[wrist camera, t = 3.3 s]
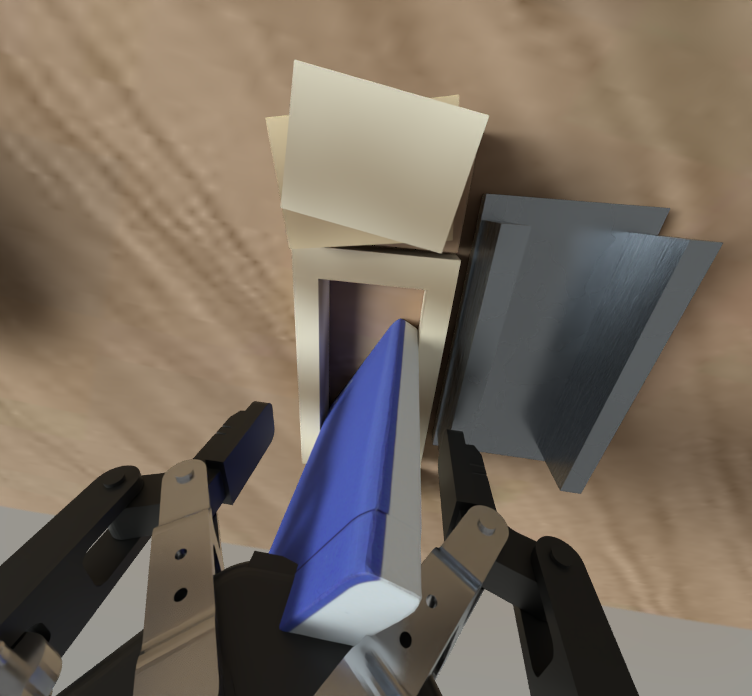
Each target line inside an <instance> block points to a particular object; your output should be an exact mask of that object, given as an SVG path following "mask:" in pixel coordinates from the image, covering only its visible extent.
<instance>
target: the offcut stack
mask: <svg viewBox="0 0 752 696" xmlns="http://www.w3.org/2000/svg"><path fill="white" fill-rule="evenodd" d="M488 118H489V115H486V114H482V113H479V112H475V111H472V110H468V109H465V108H461V107H459V95H452V96H444V97H435V98H427V97H423V96H420V95H416V94H413V93H409V92H406V91H402V90H399V89H395V88H392V87H388V86H385V85H381V84H378V83H374V82H371V81H367V80H364V79H360V78H357V77H353V76H350V75H346V74H343V73H339V72H336V71H332V70H329V69H325V68H322V67H319V66H315V65H312V64H308V63H305V62H301V61H298V60H294V69H293V80H292V90H291V101H290V112H289V115H285V116H276V117H268V118H266V124H267V129H268V135H269V140H270V146H271V151H272V157H273V162H274V168H275V174H276V179H277V185H278V190H279V196H280V201H281V208H282V212H283V218H284V223H285V229H286V234H287V240H288V245H289V249H301V248H320V247H338V246H357V245H381V246H391V247H402V248H412V249H423V250H430V251H434V252H437V253H441V254H442V251H444V252H454V253H458V248H459V243H460V238H461V233H462V227H463V222H464V217H465V212H466V206H467V201H468V196H469V191H470V186H471V180H472V175H473V170H474V165H475V159H476V154H477V149H478V147H479V144H480V141H481V138H482V135H483V132H484V129H485V126H486V123H487V120H488Z"/></svg>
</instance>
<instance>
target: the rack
mask: <svg viewBox="0 0 752 696" xmlns="http://www.w3.org/2000/svg"><path fill="white" fill-rule="evenodd" d="M460 263H461V260H460V259H459V258H458V256H457V255H456V254H451V253H442V254H441V253H437V252H430V251H420V250H410V249H399V248H389V247H378V246H368V245H357V246H338V247H320V248H301V249H292V269H293V289H294V309H295V329H296V349H297V370H298V390H299V410H300V430H301V451H302V463H304V464H306V463H307V461H308V459H309V456H310V454H311V451H312V449H313V447H314V444H315V442H316V439H317V437H318V435H319V432H320V430H321V428H322V425H323V423H324V421H325V418H326V416H327V413H328V411H329V293H330V280H336V281H345V282H354V283H364V284H373V285H383V286H392V287H402V288H411V289H421V290H424V297H423V303H422V310H421V317H420V323H419V330H418V360H419V417H420V465H421V460H422V455H423V450H424V445H425V440H426V435H427V430H428V425H429V420H430V415H431V410H432V405H433V400H434V394H435V389H436V384H437V379H438V374H439V369H440V364H441V359H442V354H443V349H444V344H445V339H446V334H447V329H448V324H449V319H450V314H451V309H452V304H453V299H454V294H455V289H456V283H457V278H458V273H459V268H460Z"/></svg>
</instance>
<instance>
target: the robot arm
mask: <svg viewBox="0 0 752 696" xmlns="http://www.w3.org/2000/svg"><path fill="white" fill-rule="evenodd" d="M273 436H274V419H273V409H272V405H271V404H270V403H264V402H257V401H254V402H253V403H252V404H251V405H250V406H249V407H248V408H247V410H246V411H239V412H238V413H236V414H234V415H233V416H231V417H230V418H229V419H228V420H227V421H226V422H225V423H224V424H223V427H221V428H220V429H219V430H218V431H217V433H216V434H215V435H214V436H213V437H212V438H211V439H210V440H209V441H208V442H207V444H206V445H205V446H204V447H203V448H202V449H201V450H200V451H199V453H198V454H197V455H196V456H195V457H194V458H193V459H190V460H185V461H182V462H180V463H177V464H176V465H174V466H173V467H171V468H170V469H169V470H168V471H167V472H166V473H160V474H151V475H142V476H141V473H140V471H139V469H138V468H137V467H135V466H121V467H117V468H114V469H111V470H109V471H107V472H105V473H104V474H102V475H101V476H99V477H98V478H97V479H96V480H94V481H93V482H92V483H91V484H90V485H89V486H88V487H87V488H86V489H85V490H83V491H82V492H81V493H80V494H79V495H78V496H77V497H76V498H75V499H74V500H72V501H71V502H70V503H69V504H68V505H67V506H66V507H65V508H64V509H62V510H61V511H60V512H59V513H58V514H57V515H56V516H55V517H54V518H53V519H52V520H50V522H48V523H47V524H46V525H45V526H44V527H43V528H42V529H41V530H39V531H38V532H37V533H36V534H35V535H34V536H33V537H32V538H31V539H30V540H28V541H27V542H26V543H25V544H24V545H23V546H22V547H21V548H20V549H18V550H17V551H16V552H15V553H14V554H13V555H12V556H11V557H10V558H8V559H7V560H6V561H5V562H4V563H3V564H2V565H1V566H0V696H52V692H53V691H52V690H53V687H54V686H55V684H56V682H57V680H58V678H59V675H60V672H61V669H62V659H61V658H62V656H63V655H64V653H65V652H66V651H67V649H68V648H69V647H70V645H71V644H72V643H73V641H74V640H75V639H76V637H77V636H78V635H79V633H80V632H81V631H82V629H83V628H84V626H85V625H86V624H87V622H88V621H89V620H90V618H91V617H92V616H93V614H94V613H95V612H96V610H97V609H98V608H99V606H100V605H101V604H102V602H103V601H104V600H105V598H106V597H107V596H108V594H109V593H110V592H111V590H112V589H113V587H114V586H115V585H116V583H117V582H118V581H119V579H120V578H121V577H122V575H123V574H124V573H125V571H126V570H127V569H128V567H129V566H130V564H131V563H132V562H133V561H134V559H135V558H136V556H137V555H138V554H139V552H140V551H141V550H142V548H143V547H144V546H145V544H146V543H147V542H148V540H149V539H150V538H151V536H152V541H151V554H150V565H149V575H148V586H147V599H146V609H145V620H144V629H143V630H142V631H140V632H139V633H138V634H136V635H135V636H134V637H132V638H131V639H130V640H129V641H127V642H126V643H125V644H123V645H122V646H121V647H119V648H118V649H117V650H115V651H114V652H113V653H112V654H110V655H109V656H107V657H106V658H105V659H104V660H102V661H101V662H100V663H98V664H97V665H96V666H94V667H93V668H92V669H90V670H89V671H88V672H86V673H85V674H84V675H83V676H81V677H80V678H78V679H77V680H76V681H75V682H73V683H72V684H71V685H69V686H68V687H67V688H65V689H64V690H63V691H61V692H60V693H59V694H58V695H56V696H442V694H441V692H440V690H439V688H438V686H437V684H436V682H435V680H436V678H437V676H438V675H439V672H440V671H441V669H442V667H443V665H444V664H445V662H446V660H447V658H448V656H449V654H450V653H451V651H452V649H453V647H454V645H455V643H456V641H457V639H458V637H459V635H460V633H461V631H462V629H463V627H464V626H465V624H466V622H467V620H468V618H469V617H470V615H471V613H472V611H473V609H474V607H475V606H476V604H477V602H478V600H479V598H480V596H481V595H482V593H483V591H484V589H486V590H488V591H490V592H491V593H493V594H495V595H497V596H499V597H500V598H502V599H504V600H506V601H507V602H509V603H511V604H513V606H514V612H515V617H516V623H517V627H518V632H519V638H520V643H521V648H522V653H523V659H524V664H525V669H526V674H527V679H528V684H529V689H530V695H531V696H639V694H638V692H637V690H636V687H635V685H634V683H633V680H632V678H631V676H630V673H629V671H628V668H627V666H626V663H625V661H624V659H623V656H622V654H621V652H620V649H619V647H618V644H617V642H616V639H615V637H614V635H613V632H612V630H611V627H610V625H609V623H608V620H607V618H606V616H605V613H604V611H603V608H602V606H601V603H600V601H599V599H598V596H597V594H596V591H595V589H594V587H593V584H592V582H591V579H590V577H589V575H588V572H587V570H586V568H585V565H584V563H583V561H582V559H581V558H580V556H579V555H578V554H577V552H576V551H575V550H574V549H573V548H572V547H571V546H569V545H568V544H567V543H565V542H564V541H562V540H560V539H558V538H555V537H551V536H544V537H541V538H540V539H539V540H538V541H537V542H536V541H534V540H532V539H530V538H528V537H526V536H523V535H521V534H519V533H517V532H515V531H514V530H512V529H511V528H510V527H508V526H507V524H506V522H505V520H504V519H503V517H502V516H501V515H500V514H499V513H498V512H497V511H496V508H495V504H494V500H493V497H492V493H491V489H490V485H489V481H488V478H487V476H486V470H485V467H484V463H483V459H482V455H481V454H480V452H479V451H478V450H477V448H476V447H475V446H474V445H470V444H466V443H465V438H464V434H463V432H462V431H456V430H449V429H445V431H444V435H443V440H442V444H441V448H440V452H439V458H438V473H439V485H440V497H441V509H442V521H443V533H444V543H443V544H442V545H441V547H440V548H437V547H436V548H434V549H433V550H432V551H431V552H430V554H429V555H428V556H427V557H426V559H425V560H424V561H423V563H422V564H421V591H422V599H421V601H420V603H419V606H418V607H417V608H416V610H415V611H414V612H413V613H411V614H410V615H409V616H407V617H405V618H404V619H402V620H401V621H399V622H397V623H395V624H393V625H392V626H390V627H388V628H386V629H384V630H382V631H380V632H379V633H377V634H375V635H372V636H369V635H365V636H364V638H363V639H362V640H361V641H360V642H359V643H357V644H356V645H355V646H351V645H347V644H342V643H337V642H332V641H328V640H323V639H318V638H314V637H309V636H305V635H301V634H296V633H291V632H285V631H282V630H280V627H279V626H280V623H281V619H282V616H283V613H284V610H285V607H286V604H287V601H288V597H289V594H290V591H291V588H292V585H293V581H294V578H295V573H296V570H297V567H298V564H297V563H295V562H293V561H291V560H289V559H287V558H286V557H284V556H280V555H275V554H269V553H263V552H258V551H254V553H253V556H252V558H251V560H250V561H247V562H243V563H239V564H236V565H233V566H230V567H229V568H226V569H224V563H223V557H222V548H221V539H220V530H219V520H218V513H217V510H218V509H219V507H220V506H221V504H222V503H224V504H230V505H233V503H234V502H235V500H236V498H237V497H238V495H239V494H240V492H241V490H242V489H243V487H244V485H245V484H246V482H247V481H248V479H249V477H250V476H251V474H252V473H253V471H254V469H255V468H256V466H257V464H258V463H259V461H260V460H261V458H262V456H263V455H264V453H265V452H266V450H267V448H268V447H269V445H270V443H271V442H272V439H273ZM107 528H108V529H107ZM106 529H107V530H106ZM105 530H106V532H105V533H104V534H103V535H102V536H101V534H102V533H103V532H104V531H105ZM100 536H101V537H100ZM99 537H100V538H99ZM98 538H99V539H98ZM97 539H98V541H97V542H96V543H95V544H94V545H93V546H92V544H93V543H94V542H95V541H96V540H97ZM91 546H92V547H91ZM90 547H91V548H90ZM89 548H90V549H89ZM88 549H89V551H88ZM87 551H88V552H87ZM86 552H87V553H86Z"/></svg>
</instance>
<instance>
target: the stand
mask: <svg viewBox="0 0 752 696" xmlns="http://www.w3.org/2000/svg"><path fill="white" fill-rule="evenodd" d="M669 210H670V208H660V207H647V206H635V205H622V204H609V203H597V202H584V201H572V200H559V199H547V198H534V197H521V196H509V195H496V194H483V196H482V200H481V205H480V210H479V215H478V219H477V224H476V229H475V234H474V239H473V243H472V248H471V253H470V258H469V262H468V267H467V272H466V277H465V281H464V286H463V291H462V296H461V301H460V305H459V310H458V315H457V320H456V324H455V329H454V334H453V339H452V343H451V348H450V353H449V358H448V363H447V367H446V372H445V377H444V382H443V386H442V391H441V396H440V401H439V405H438V410H437V415H436V420H435V425H434V429H433V434H432V441H433V445H438V448H439V452H440V448H441V444H442V440H443V435H444V431H445V429H449V430H456V431H462V432H463V434H464V438H465V443H466V444H470V445H474V446H475V447H476V448H477V450H478V451H479V452H486V453H493V454H500V455H507V456H513V457H520V458H527V459H534V460H541V461H545V462H546V464H547V466H548V468H549V470H550V472H551V474H552V476H553V478H554V480H555V481H556V483H557V485H558V487H559V489H560V491H566V492H572V493H579V494H581V492H582V491H583V489H584V487H585V485H586V484H587V482H588V480H589V478H590V477H591V475H592V473H593V471H594V470H595V468H596V466H597V464H598V463H599V461H600V459H601V457H602V456H603V454H604V452H605V450H606V448H607V447H608V445H609V443H610V441H611V440H612V438H613V436H614V434H615V433H616V431H617V429H618V427H619V426H620V424H621V422H622V420H623V419H624V417H625V415H626V413H627V411H628V410H629V408H630V406H631V404H632V403H633V401H634V399H635V397H636V396H637V394H638V392H639V390H640V389H641V387H642V385H643V383H644V382H645V380H646V378H647V376H648V375H649V373H650V371H651V369H652V367H653V366H654V364H655V362H656V360H657V359H658V357H659V355H660V353H661V352H662V350H663V348H664V346H665V345H666V343H667V341H668V339H669V338H670V336H671V334H672V332H673V330H674V329H675V327H676V325H677V323H678V322H679V320H680V318H681V316H682V315H683V313H684V311H685V309H686V308H687V306H688V304H689V302H690V301H691V299H692V297H693V295H694V294H695V292H696V290H697V288H698V286H699V285H700V283H701V281H702V279H703V278H704V276H705V274H706V272H707V271H708V269H709V267H710V265H711V264H712V262H713V260H714V258H715V257H716V255H717V253H718V251H719V249H720V248H721V246H722V244H723V243H722V242H713V241H704V240H696V239H687V238H679V237H670V236H661V235H658V234H659V232H660V230H661V227H662V225H663V223H664V221H665V219H666V217H667V215H668V213H669Z"/></svg>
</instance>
